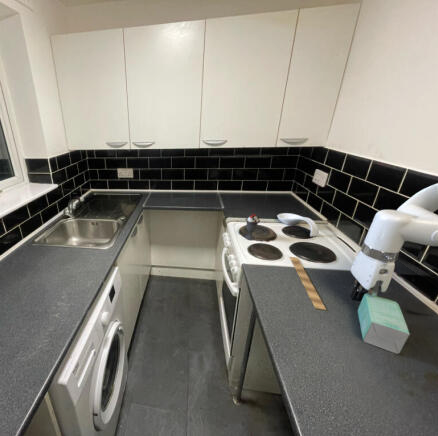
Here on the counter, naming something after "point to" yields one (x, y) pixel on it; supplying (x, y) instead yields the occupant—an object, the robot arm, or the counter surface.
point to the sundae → (251, 225)
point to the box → (382, 323)
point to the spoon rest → (294, 219)
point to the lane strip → (307, 284)
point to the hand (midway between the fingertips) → (356, 299)
